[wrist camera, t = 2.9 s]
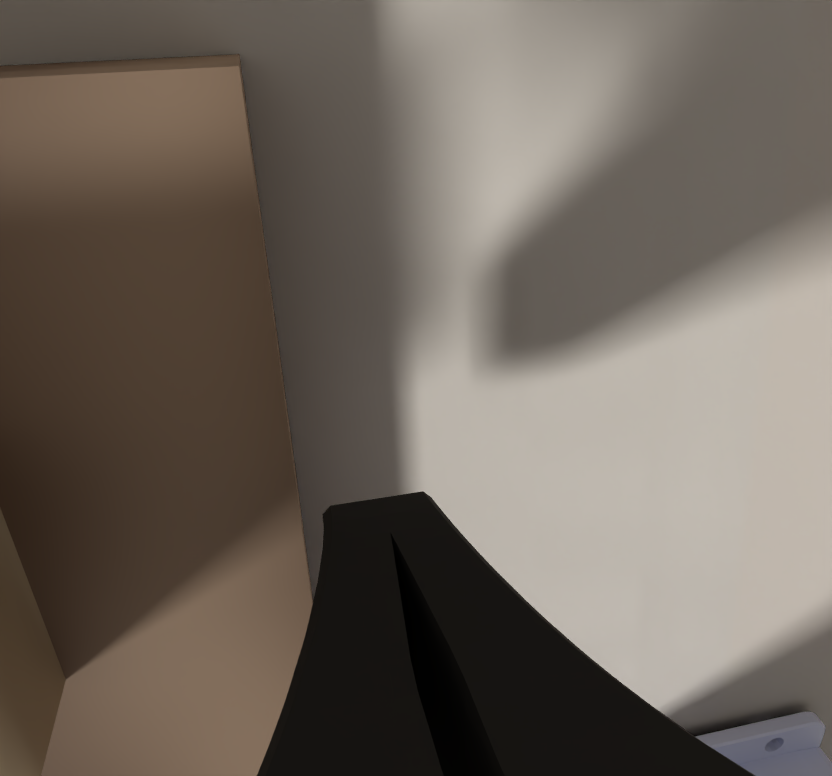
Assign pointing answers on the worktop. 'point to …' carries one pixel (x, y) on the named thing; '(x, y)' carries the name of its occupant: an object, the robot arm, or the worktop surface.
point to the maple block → (24, 670)
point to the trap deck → (147, 414)
